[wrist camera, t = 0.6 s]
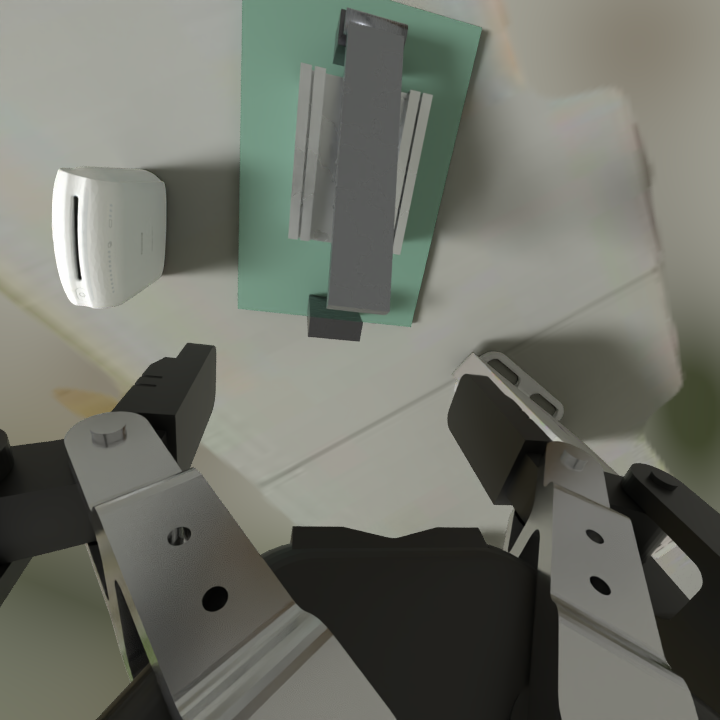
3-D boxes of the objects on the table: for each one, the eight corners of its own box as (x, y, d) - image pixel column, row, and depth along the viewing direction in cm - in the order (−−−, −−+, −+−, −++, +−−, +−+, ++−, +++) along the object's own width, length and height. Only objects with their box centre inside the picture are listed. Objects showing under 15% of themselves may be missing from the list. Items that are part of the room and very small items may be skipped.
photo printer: (167, 282, 37) (111, 323, 26) (122, 272, 36) (44, 311, 25) (172, 177, 33) (107, 174, 22) (121, 163, 32) (27, 152, 21)
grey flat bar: (344, 22, 25) (347, 1, 24) (402, 38, 26) (408, 19, 25) (322, 309, 23) (325, 303, 22) (387, 316, 24) (393, 311, 23)
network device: (580, 418, 55) (710, 530, 37) (537, 455, 57) (641, 576, 40) (475, 329, 45) (585, 423, 28) (429, 378, 48) (503, 493, 30)
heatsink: (305, 25, 29) (306, -20, 22) (420, 56, 31) (450, 23, 24) (284, 309, 39) (280, 334, 33) (371, 318, 41) (384, 343, 35)
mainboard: (245, -35, 28) (243, -44, 27) (476, 33, 32) (482, 27, 31) (239, 305, 40) (237, 308, 39) (408, 323, 44) (410, 326, 42)
